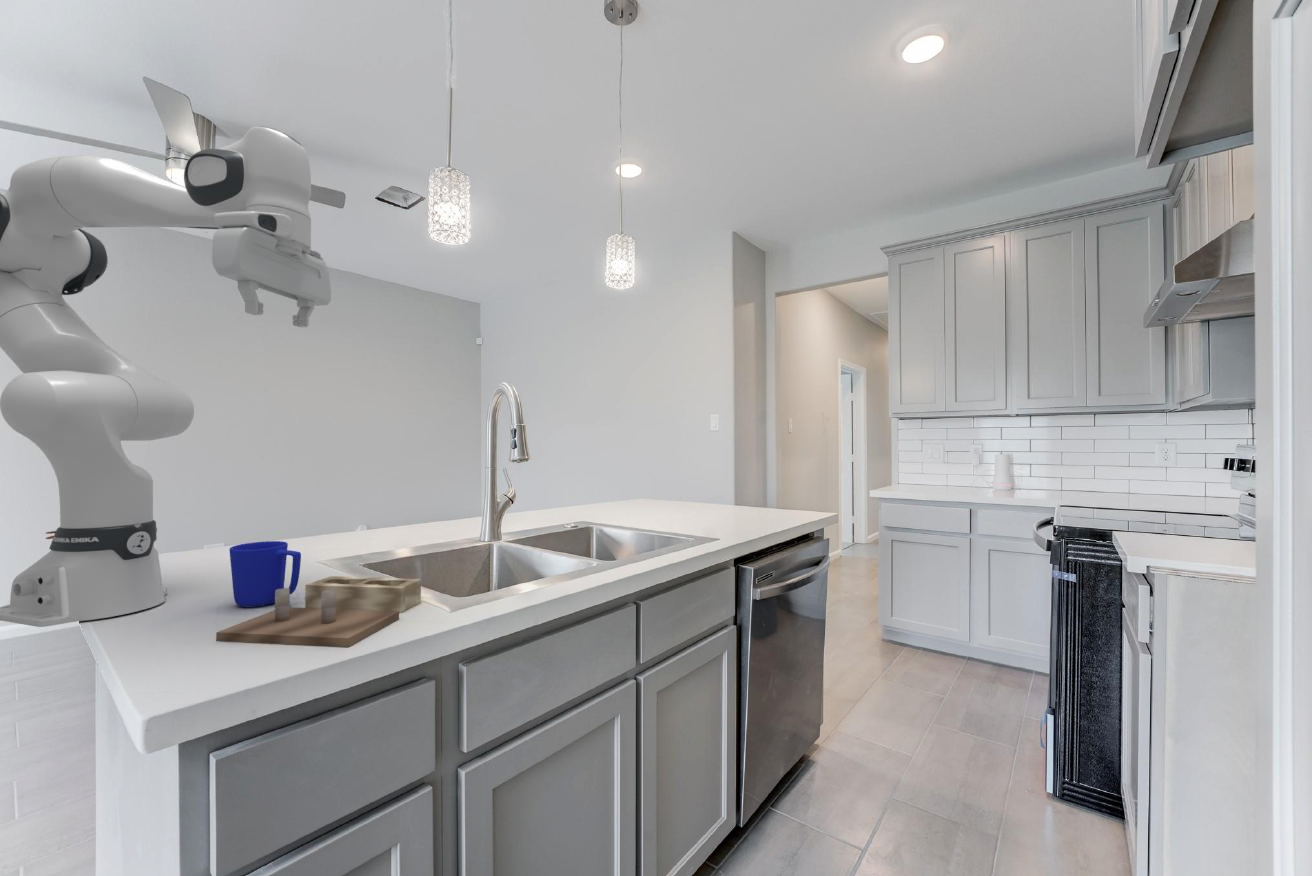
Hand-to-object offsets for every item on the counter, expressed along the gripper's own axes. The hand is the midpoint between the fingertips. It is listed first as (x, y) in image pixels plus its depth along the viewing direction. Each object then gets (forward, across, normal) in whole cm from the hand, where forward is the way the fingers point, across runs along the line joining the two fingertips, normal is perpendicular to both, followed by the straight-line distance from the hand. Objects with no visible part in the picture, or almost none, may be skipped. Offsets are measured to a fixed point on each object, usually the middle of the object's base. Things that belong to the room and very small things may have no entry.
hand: (278, 320), depth 90 cm
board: (+47, +5, +10) cm, 49 cm away
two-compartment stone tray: (+47, -7, +10) cm, 49 cm away
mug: (+48, -6, -7) cm, 48 cm away
